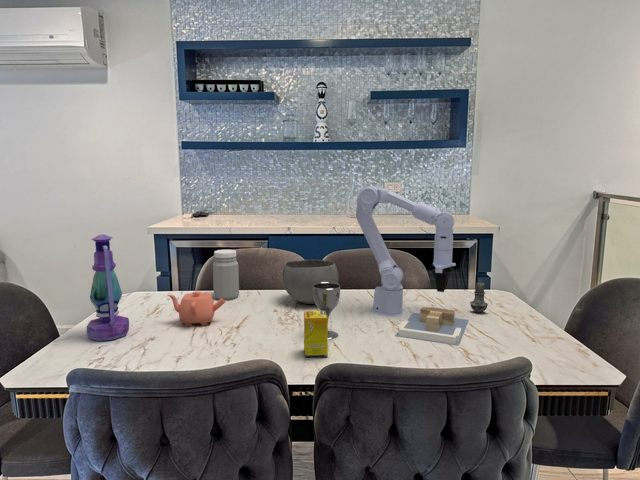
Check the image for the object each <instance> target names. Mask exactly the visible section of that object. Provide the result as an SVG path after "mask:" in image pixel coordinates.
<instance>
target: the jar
mask: <svg viewBox="0 0 640 480" xmlns="http://www.w3.org/2000/svg"><path fill="white" fill-rule="evenodd" d="M213 257H214V259H213V260H214V261H213V263H212V282H213V283H212V284H213V297H214V298H215V299H216V300H218V301H219V300H220V299H221V298H222V299H223V300H224V301H231V300H235V299H237V298H238V296H240V285H239V284H240V277H239V273H240V272H239V262H238V260H237V250H235V249H230V248H229V249H228V248H227V249H217V250H214V253H213Z"/></svg>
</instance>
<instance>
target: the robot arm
mask: <svg viewBox="0 0 640 480" xmlns="http://www.w3.org/2000/svg"><path fill="white" fill-rule="evenodd" d="M388 203H389V204H392V205H394V206H397V207H399V208H401V209H404V210H407V211H409V212H411V213H412V215H413V216H412V217H414V219H417V220H419V221H422V222H423V223H426V224H428V225H430V226H434V227H435V234H434V248H433V262H432V266H433V267H434V269H433V268H432V269H431V274H432V276H433V278H434V281H435V288H436V291H437V292H439V293H444V292H445V290H446V289H447V287H448V282H449V277H450V276H451V273H452V271H453V267H455V266H457V264H456V262H453V248H454V247H453V246H454V245H453V243H454V235H453V233H454V229H453V227H454V226H455V219H454V216H453V214H452V213H450V212H449V211H448V210H444V209H443V208H442V207H440V208H438V207H436V206H433V205H431V204H430V202H429V201H427V200H425V201H422V200H421V201H418V202H414V201H412V200H410V199H408V198H407V197H404V196H402V195H400V194H398V193H396V192H394V191H392V190H390V189H387V188H383V187H379V186H377V185H368V186H364V187H363V188H362V189H360V191H359V193H358V195H357V197H356V211H355V218H356V221H357V222H358V225H359V227H360V228H361V231H362V233H363V235H364V238H365V239H366V242H367V244H368V245H369V248H370V250H371V253H372V254H373V257H374V258H375V261H376V263H377V265H378V272H379V274H380V282H381V286H376V287H375V288H374V292H373V312H372V313H373V314H376V315H385V316H392V317H401V316H403V314H404V313H405V312H406V309H403V301H404V300H403V298H404V295H403V294H404V287H403V285H402V280H403V279H404V272H403V270H402V268H401V267H399V266H398V265H397V264H396V261H395V259H393V258H392V255H391V253H390V251H389V250H388V247H387V245H386V244H385V241H384V239H383V236H382V235H381V232H380V231H379V229H378V227H377V225H376V224H377V223H376V222H375V220H374V218H373V214H374V211H375V209H376V207H377V206H378V205H379V204H388Z"/></svg>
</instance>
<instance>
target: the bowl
mask: <svg viewBox="0 0 640 480" xmlns="http://www.w3.org/2000/svg"><path fill="white" fill-rule="evenodd" d="M282 282H283V287H284V289H285V291H286V293H287V294H288V295H289V296H290V298H292V299H293V300H294V301H296V302H299V303H301V304H305V305H313V304H315V302H314V297H313V285H314V284H316V283H321V282H332V283H337V284H339V271H338V268H337V265H336V263H335V262H334V261H332V260H328V259H326V260H324V259H315V258H314V259H311V258H310V259H302V260H292V261H286V262H285V263H284V264H283V268H282ZM315 305H316V304H315Z"/></svg>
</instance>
